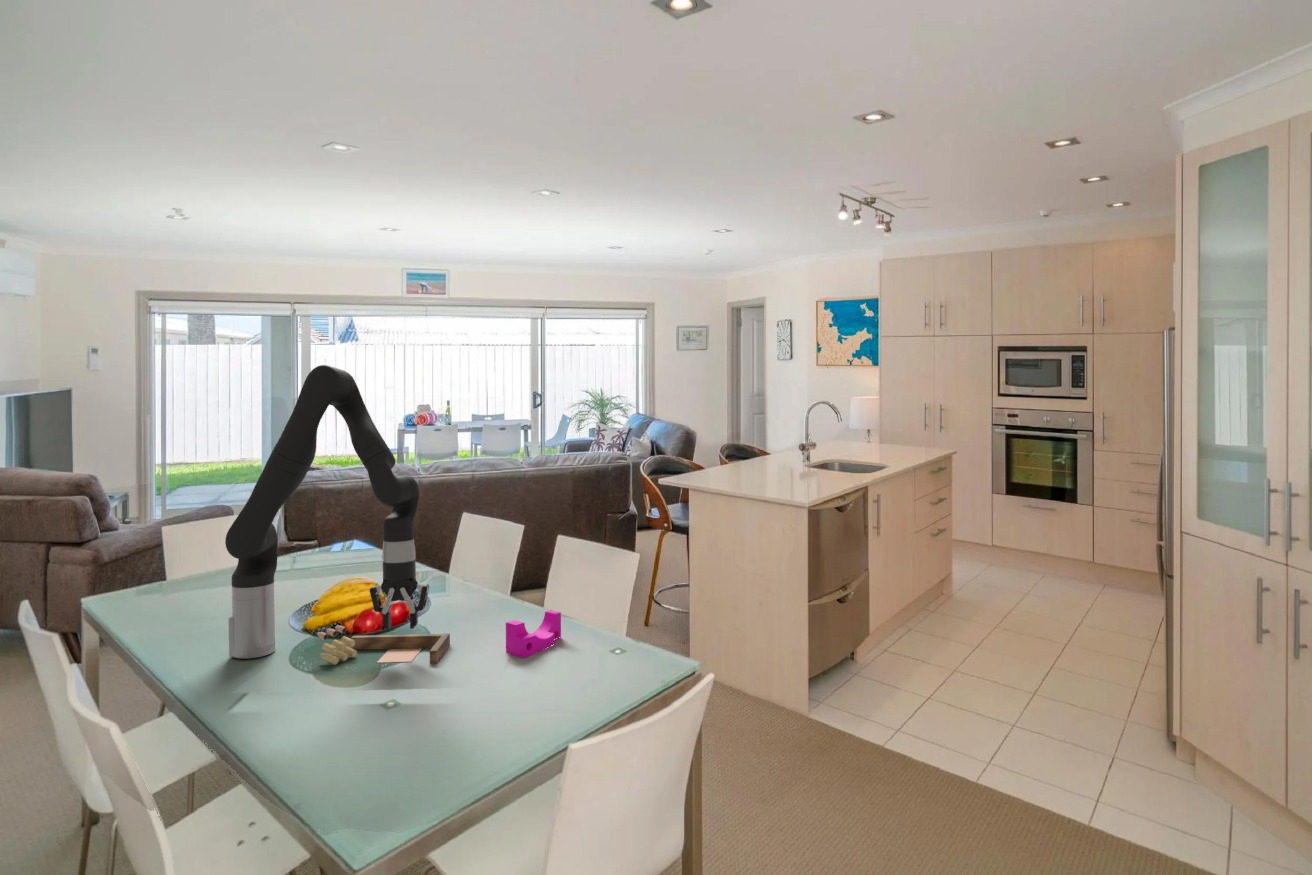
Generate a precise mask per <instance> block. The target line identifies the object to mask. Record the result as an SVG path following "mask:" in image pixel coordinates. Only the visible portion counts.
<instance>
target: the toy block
mask: <svg viewBox="0 0 1312 875" xmlns="http://www.w3.org/2000/svg"><path fill="white" fill-rule="evenodd" d="M561 612H562V611H561ZM561 612H560V611H556V610H552V609H551V610H546V611H544V617H543V619H542V622H541V623H540V626H539V627H538V628H537V629H536V630H535V631H534V632H531V633H529V632H528V630H527V628H526V625H525V622H523V621H518V620H515V619H514V620H510V621H505V653H509V654H510V655H512V656H515V657H519V658H522V659H523V658H527V657H530V656H532V654H533V655H535V654H537V653H536V652H538V651H540V652H542V651H544V650H543V649H545V648H547V647H550V646H551V645H553V644H554V645H555V640H554V639H556V638H559V637H561V638H562V613H561ZM559 639H560V638H559ZM550 648H551V647H550ZM547 649H548V648H547ZM541 650H542V651H541ZM545 650H546V649H545ZM534 653H535V654H534ZM538 653H539V652H538ZM529 655H530V656H529Z"/></svg>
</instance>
